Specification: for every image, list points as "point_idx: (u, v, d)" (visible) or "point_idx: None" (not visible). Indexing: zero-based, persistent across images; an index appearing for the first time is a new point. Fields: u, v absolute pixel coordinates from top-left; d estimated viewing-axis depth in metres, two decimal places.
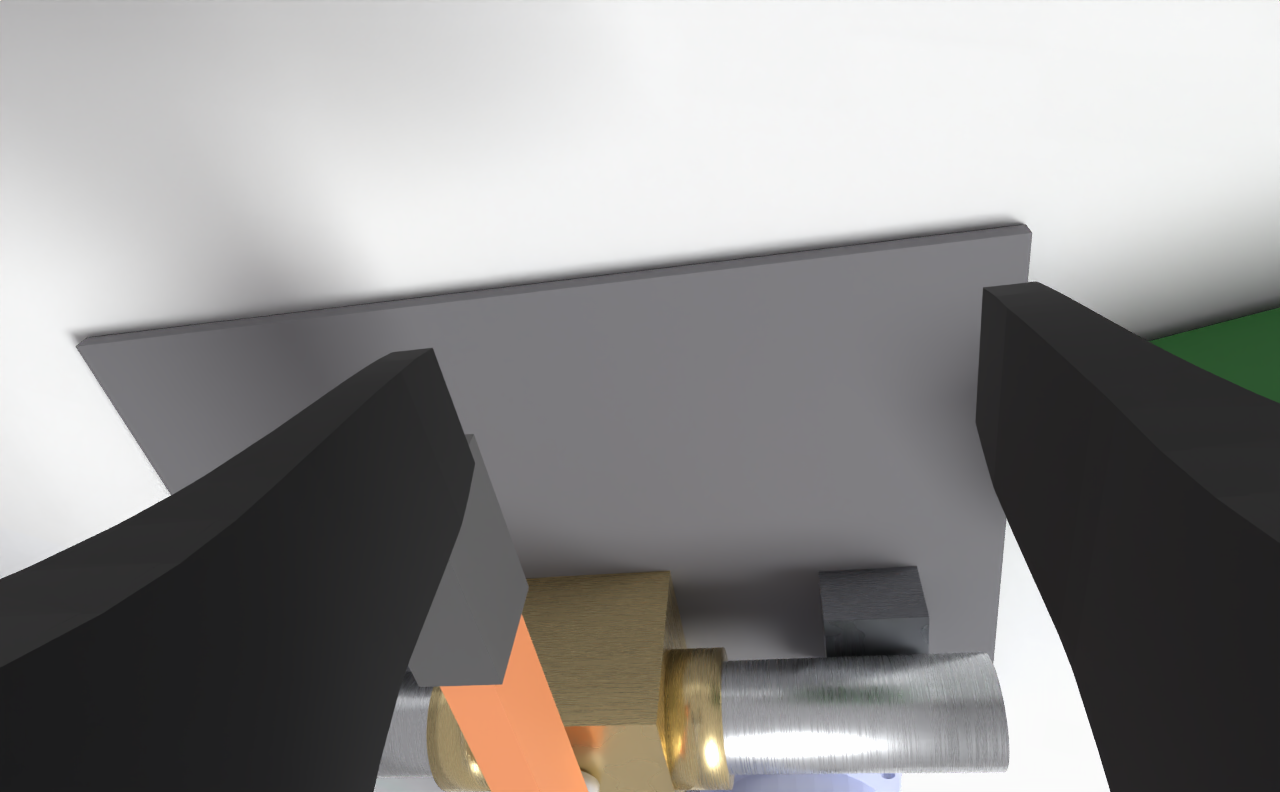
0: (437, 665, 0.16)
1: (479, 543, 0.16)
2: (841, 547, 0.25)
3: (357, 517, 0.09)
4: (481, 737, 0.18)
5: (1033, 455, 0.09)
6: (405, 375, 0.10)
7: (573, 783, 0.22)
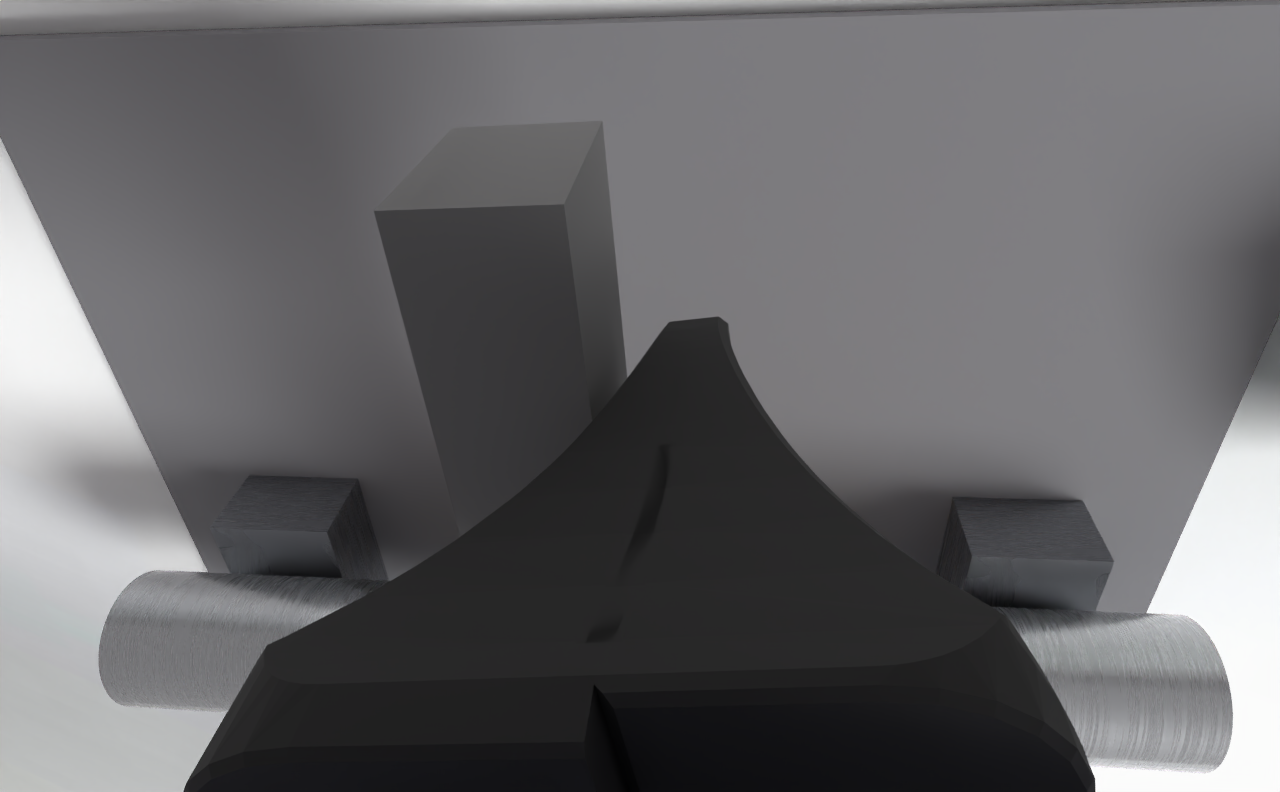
0: None
1: (600, 304, 0.09)
2: (992, 465, 0.19)
3: None
4: None
5: None
6: None
7: None
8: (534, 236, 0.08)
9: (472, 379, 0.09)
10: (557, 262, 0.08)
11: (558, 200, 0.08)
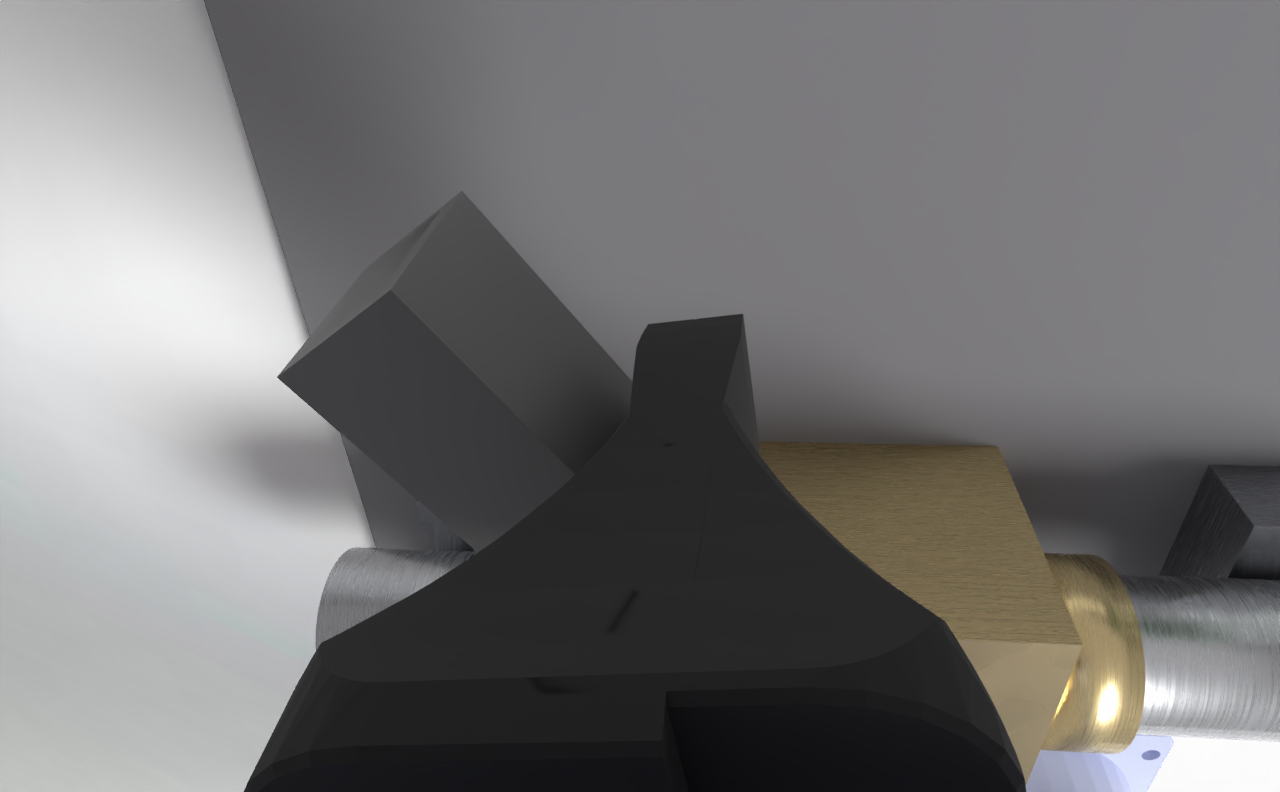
0: None
1: (529, 345, 0.10)
2: (1260, 430, 0.18)
3: None
4: None
5: None
6: (741, 340, 0.09)
7: None
8: (391, 328, 0.08)
9: (441, 468, 0.09)
10: (423, 337, 0.08)
11: (391, 288, 0.08)
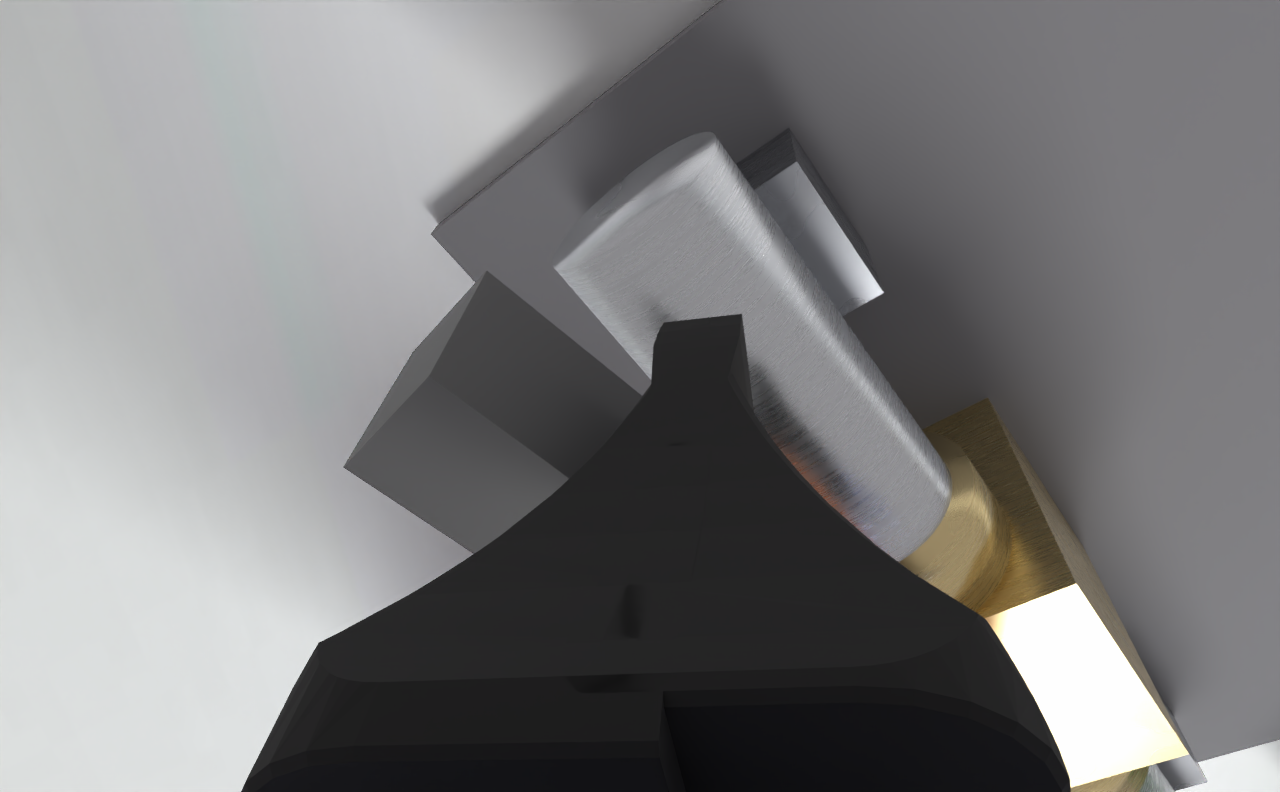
0: None
1: (566, 403, 0.10)
2: (1183, 662, 0.23)
3: None
4: None
5: None
6: (740, 340, 0.09)
7: None
8: (435, 409, 0.09)
9: (501, 529, 0.10)
10: (464, 414, 0.09)
11: (430, 373, 0.09)
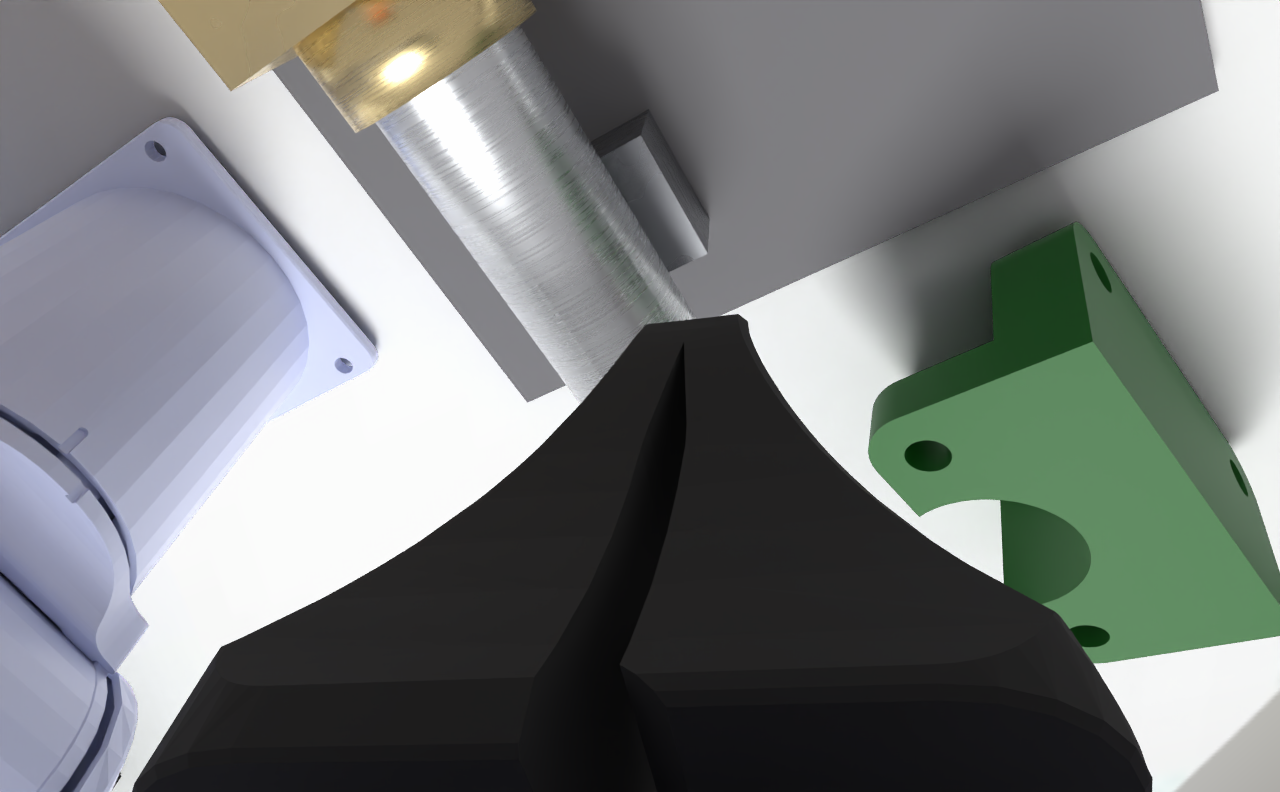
0: None
1: None
2: (702, 116, 0.19)
3: (671, 495, 0.08)
4: None
5: None
6: None
7: None
8: None
9: None
10: None
11: None
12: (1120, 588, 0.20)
